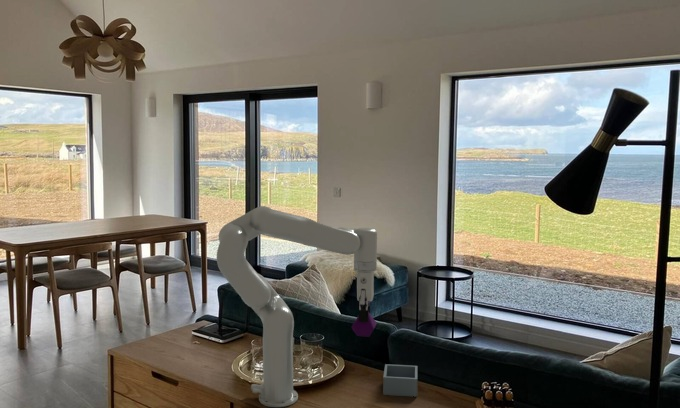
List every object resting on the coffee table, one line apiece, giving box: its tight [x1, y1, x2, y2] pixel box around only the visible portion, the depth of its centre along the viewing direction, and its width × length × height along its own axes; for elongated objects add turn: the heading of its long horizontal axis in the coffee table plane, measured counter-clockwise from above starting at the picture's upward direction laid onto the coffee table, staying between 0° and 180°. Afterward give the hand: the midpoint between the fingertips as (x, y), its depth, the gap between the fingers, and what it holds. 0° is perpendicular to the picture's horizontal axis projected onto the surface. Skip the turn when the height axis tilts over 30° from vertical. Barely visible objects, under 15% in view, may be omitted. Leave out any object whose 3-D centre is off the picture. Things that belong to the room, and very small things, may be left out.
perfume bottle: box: [351, 292, 378, 338], centre depth 187 cm, size 8×8×18 cm
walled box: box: [382, 363, 418, 398], centre depth 190 cm, size 11×11×6 cm
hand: (364, 318), depth 188 cm, fingers closed on perfume bottle, 4 cm apart
